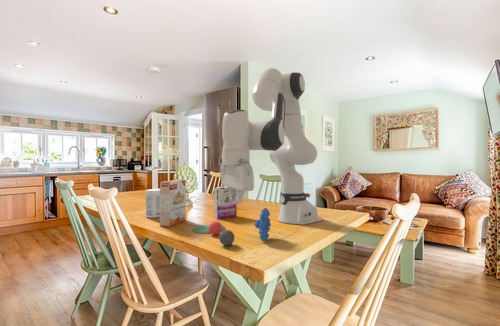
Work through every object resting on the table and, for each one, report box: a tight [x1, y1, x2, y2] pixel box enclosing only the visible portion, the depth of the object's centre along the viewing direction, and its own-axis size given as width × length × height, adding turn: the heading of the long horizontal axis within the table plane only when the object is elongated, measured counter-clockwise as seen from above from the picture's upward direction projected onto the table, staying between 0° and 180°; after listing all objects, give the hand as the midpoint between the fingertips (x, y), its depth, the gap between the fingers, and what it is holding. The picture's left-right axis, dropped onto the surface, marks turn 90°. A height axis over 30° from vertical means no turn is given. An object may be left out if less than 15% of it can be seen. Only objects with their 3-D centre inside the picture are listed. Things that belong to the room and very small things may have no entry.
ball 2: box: [218, 229, 235, 247], centre depth 90 cm, size 6×6×6 cm
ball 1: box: [208, 220, 223, 236], centre depth 103 cm, size 6×6×6 cm
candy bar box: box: [213, 186, 238, 220], centre depth 134 cm, size 11×5×16 cm, turn 119°
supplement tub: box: [145, 188, 160, 219], centre depth 137 cm, size 10×10×15 cm
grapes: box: [253, 207, 272, 242], centre depth 96 cm, size 12×7×12 cm, turn 168°
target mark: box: [192, 223, 226, 235], centre depth 111 cm, size 14×14×1 cm
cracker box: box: [159, 179, 187, 228], centre depth 122 cm, size 14×6×21 cm, turn 164°
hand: (236, 202), depth 81 cm, fingers open, 3 cm apart
